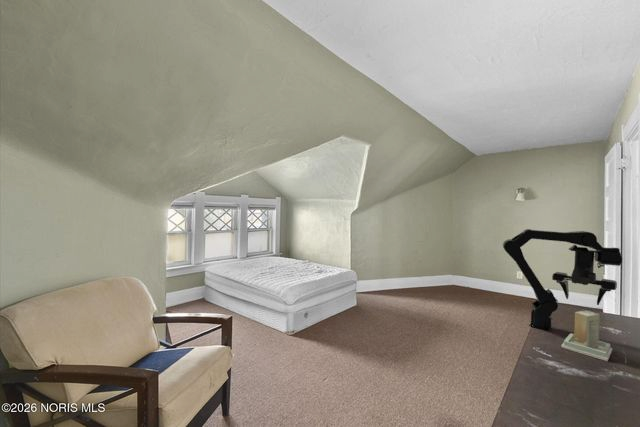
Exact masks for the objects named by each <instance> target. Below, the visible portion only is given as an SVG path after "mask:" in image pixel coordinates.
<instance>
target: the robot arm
mask: <svg viewBox="0 0 640 427" xmlns="http://www.w3.org/2000/svg"><path fill="white" fill-rule="evenodd" d="M532 239H533V240H543V241H553V242H566V243H569V244H573V245H572V246H571V247H569V248H568V250H569V251H571V252H574V267H573V270H572V272H571V275H568V273H566V272H559V271H556V272H554V273H552V276H551V277H552V278H551V279H552V280H553V281H555V282H556V283H557V284H559V285H560V286H561V288H562V290H563V293H564V296H565V298H566V300H569V295H570V294H569V281H571V283H572V284H578V285H583V286H588V285H596V286H600V288H598V289H599V290H598V296H597V300H596V305H597V306H599V305H600V304H601V301H602V300H603V297H604V295H605V294H606V293H607V292H611V291H616V289H617V288H618V282H617V281H616V280H614V279H608V278H602V279H601V280H598V279H597V275H596V272H594V270H595V269H594V266H595V265H594V264H595V262H597V264H599V265H606V266H614V267H615V266H618V267H619V266H621V265H622V263H623V257H622V253H621V251H620V250H621V249H620V247H605V246H604V247H603V246H602V245H601V244H600V243H599V241H597V240H598V237H597V235H595V234H594V233H592V232H590V231H585V230H576V231H567V232H563V231H561V232H560V231H552V230H551V231H549V230H538V229H535V230H534V229H530V228H526V229H524V230H523V231H522V232H520V233H518V234H517V235H516V236H513V237H512V238H507V239H506V240H504V241H503V243H502V248H503V250H504V251H505V252H506V253H507V254H508V256H509V257H511V259H513V261H514V262H515V264H516V265H517V267H518V268H519V269H520V271H521V273H522V274H523V276H524V278H525V279H526V280H527V282H528V283H529V285H530V287H531V288H532V291H533V292H534V295H535V298H536V300H534V302H531V304H530V305H531V307H532V310H530V311H531V312H530V314H531V315H530V324H529V327H532V328H535V329H537V330H542V331H547V332H549V331H550V330H551V329H552V328H553V320H554V318H553V317H552V315H553V312H555V311H557V310H558V308H559V304H558V303H559V300H558V299H557V298H556V297H555V296H554V294H553V291H552V290H550V288H547V289H545V288H544V286H543V285H542V283H541V282H540V280H539V279H538V277H537V276H536V274H535V272H534V271H533V269H532V267H531V266H530V264H529V263H528V261H527V260H526V258H525V256H524V253H523V250H522V248H521V247H523V246H524V245H526V244H527V243H528V242H529V241H531V240H532ZM577 245H578V246H577ZM589 248H590V249H589ZM532 325H533V326H532Z"/></svg>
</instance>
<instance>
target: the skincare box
mask: <svg viewBox="0 0 640 427" xmlns="http://www.w3.org/2000/svg"><path fill="white" fill-rule="evenodd" d="M600 321H601V320H600V313H596V312H593V311H591V310H579V311H574V330H573V334H574V343H575V344H579V345H582V346H586V347H589V348H593V349H594V348H598V344H599V341H600V338H599V337H600Z"/></svg>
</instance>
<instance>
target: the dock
mask: <svg viewBox="0 0 640 427" xmlns="http://www.w3.org/2000/svg"><path fill="white" fill-rule="evenodd" d="M560 347H561V348H562V349H565V350H568V351H572V352H575V353H579V354H582V355H586V356H588V357H591V358H596V359H598V360H602V361H605V362H608V361H609V358H610V357H611V355H612V352H613V348H612V347H611V343H609V342H606V341H605V342H604V341H601V340H599V344H598V348H594V349H593V348H589V347H586V346H582V345H579V344H575V343H574V333H572V332H571V333H569V334H568V336H566V338H565V339H564V340H563V343H562V344H561V346H560Z"/></svg>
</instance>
